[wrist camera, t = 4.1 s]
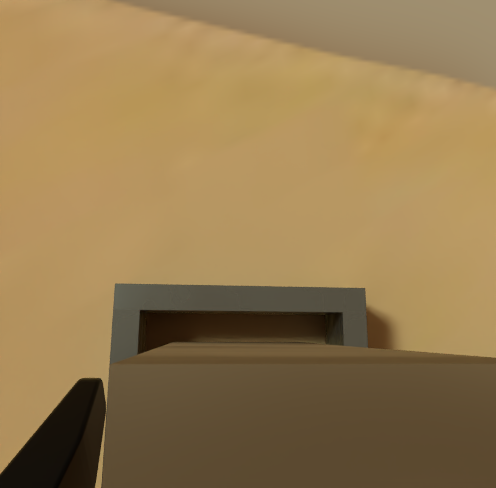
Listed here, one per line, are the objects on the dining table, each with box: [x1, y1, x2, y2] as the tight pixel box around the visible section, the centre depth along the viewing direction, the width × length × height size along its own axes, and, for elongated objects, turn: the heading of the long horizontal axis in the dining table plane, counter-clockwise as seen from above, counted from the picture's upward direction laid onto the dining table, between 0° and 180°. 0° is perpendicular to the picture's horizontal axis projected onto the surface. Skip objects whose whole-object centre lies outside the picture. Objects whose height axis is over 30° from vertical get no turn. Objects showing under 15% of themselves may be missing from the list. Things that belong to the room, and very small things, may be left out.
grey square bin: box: [101, 284, 368, 488], centre depth 14 cm, size 8×8×2 cm
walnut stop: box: [102, 342, 496, 488], centre depth 10 cm, size 4×4×12 cm
